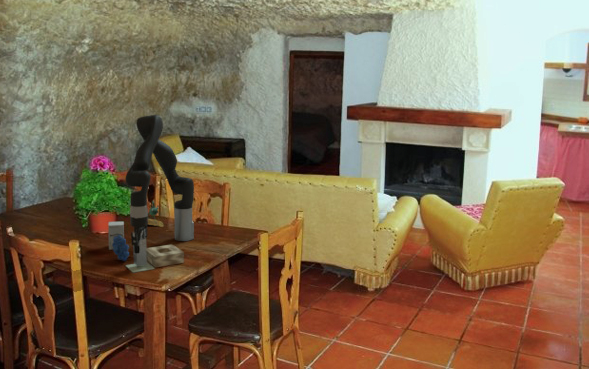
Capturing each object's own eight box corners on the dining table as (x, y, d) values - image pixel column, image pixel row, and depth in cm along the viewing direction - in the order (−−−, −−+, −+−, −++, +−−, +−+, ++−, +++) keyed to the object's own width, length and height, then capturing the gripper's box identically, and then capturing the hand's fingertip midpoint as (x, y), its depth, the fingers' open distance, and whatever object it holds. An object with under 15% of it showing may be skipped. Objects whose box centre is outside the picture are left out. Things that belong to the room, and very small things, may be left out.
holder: (172, 254, 286) (172, 244, 285) (183, 262, 275) (183, 252, 274) (144, 258, 278) (144, 248, 278) (155, 267, 267) (155, 256, 266)
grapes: (105, 259, 276) (105, 234, 274) (118, 256, 281) (117, 231, 279) (120, 265, 269) (119, 239, 266) (132, 261, 274) (132, 236, 271)
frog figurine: (148, 219, 348) (149, 195, 344) (169, 228, 338) (171, 204, 334) (135, 222, 340) (136, 198, 336) (156, 231, 330) (158, 206, 327)
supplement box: (108, 250, 289) (107, 225, 287) (109, 245, 296) (108, 221, 294) (124, 249, 291) (123, 224, 289) (124, 244, 298) (123, 220, 296)
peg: (143, 261, 269) (142, 236, 267) (146, 264, 266) (146, 238, 263) (133, 263, 267) (133, 237, 264) (137, 266, 263) (136, 240, 261)
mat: (146, 262, 273) (146, 261, 273) (154, 269, 265) (154, 268, 265) (125, 266, 268) (125, 265, 267) (133, 272, 259) (132, 271, 259)
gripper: (136, 210, 269) (137, 245, 272) (124, 218, 255) (125, 255, 258) (152, 211, 268) (153, 246, 271) (141, 219, 254) (142, 256, 257)
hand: (139, 250), depth 265 cm, fingers closed on peg, 6 cm apart
